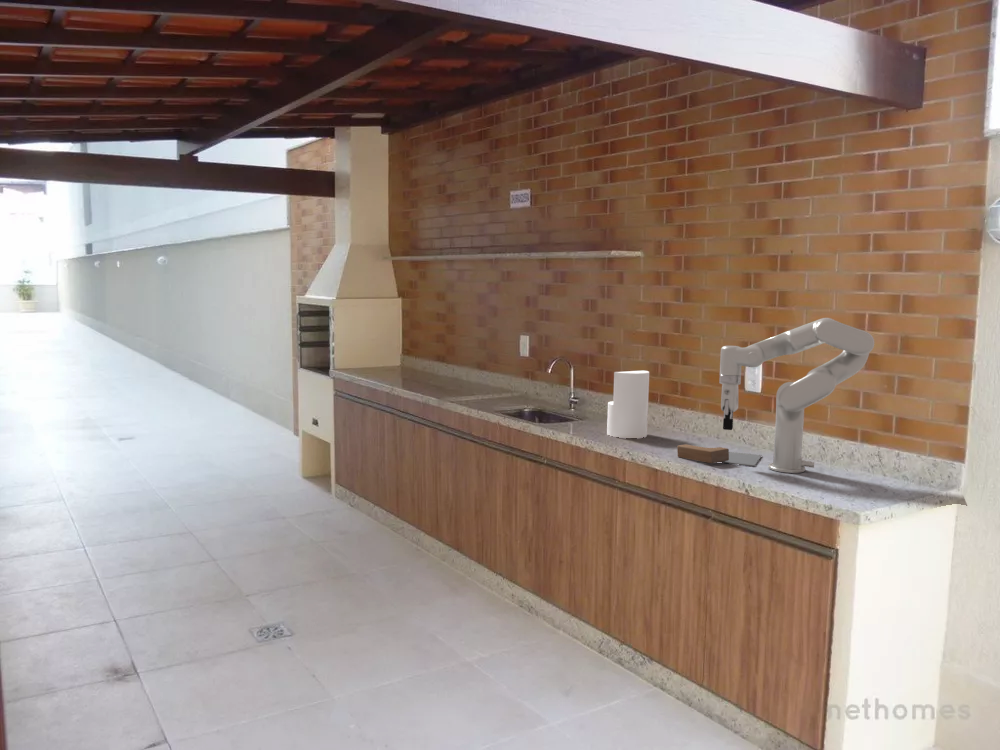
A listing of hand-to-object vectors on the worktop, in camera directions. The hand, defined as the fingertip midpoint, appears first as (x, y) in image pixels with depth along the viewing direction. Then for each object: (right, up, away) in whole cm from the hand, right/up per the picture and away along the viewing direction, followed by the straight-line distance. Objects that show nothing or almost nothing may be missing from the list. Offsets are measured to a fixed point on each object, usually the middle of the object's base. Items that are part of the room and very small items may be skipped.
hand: (727, 429), depth 300 cm
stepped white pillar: (-28, -7, +58) cm, 65 cm away
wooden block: (-3, -10, 0) cm, 10 cm away
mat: (+5, -12, +12) cm, 18 cm away
